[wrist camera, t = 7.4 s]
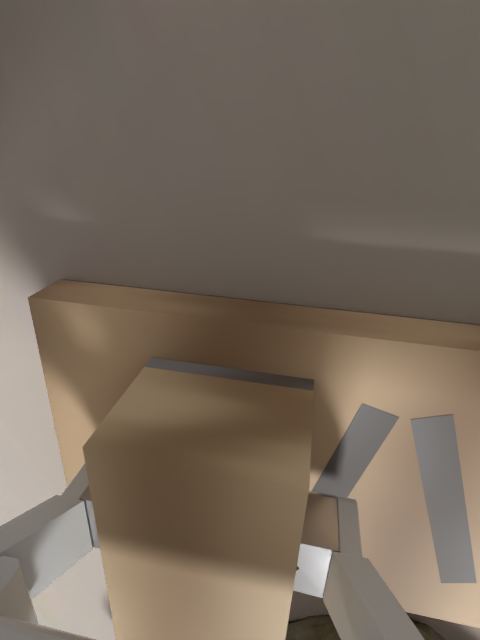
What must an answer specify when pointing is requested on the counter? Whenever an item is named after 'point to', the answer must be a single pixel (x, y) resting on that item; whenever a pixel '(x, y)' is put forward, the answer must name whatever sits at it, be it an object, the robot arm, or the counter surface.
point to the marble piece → (321, 635)
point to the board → (328, 410)
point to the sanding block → (202, 501)
